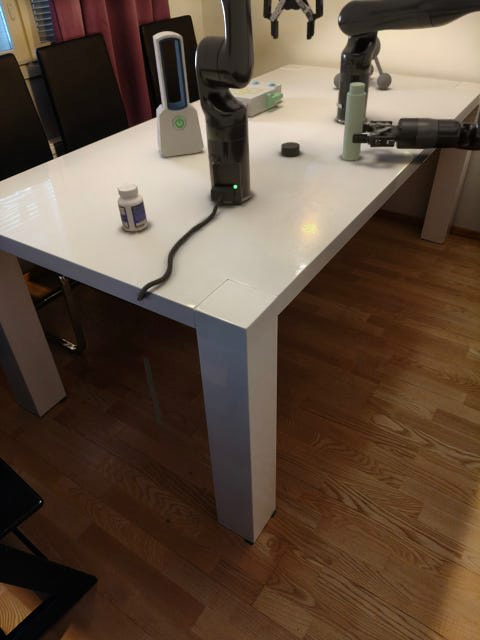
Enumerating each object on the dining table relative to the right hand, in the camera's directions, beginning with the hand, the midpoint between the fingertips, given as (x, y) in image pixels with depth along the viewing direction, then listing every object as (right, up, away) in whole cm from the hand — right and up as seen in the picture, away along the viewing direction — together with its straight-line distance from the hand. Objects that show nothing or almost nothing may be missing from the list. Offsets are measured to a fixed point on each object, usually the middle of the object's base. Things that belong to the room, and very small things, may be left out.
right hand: (352, 133), depth 128 cm
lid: (-16, -1, +7) cm, 17 cm away
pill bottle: (-52, -29, -23) cm, 64 cm away
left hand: (-17, +20, -9) cm, 27 cm away
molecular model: (+18, +44, +66) cm, 81 cm away
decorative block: (-26, +27, +47) cm, 61 cm away
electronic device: (-47, 0, +15) cm, 49 cm away
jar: (0, -5, +4) cm, 7 cm away
